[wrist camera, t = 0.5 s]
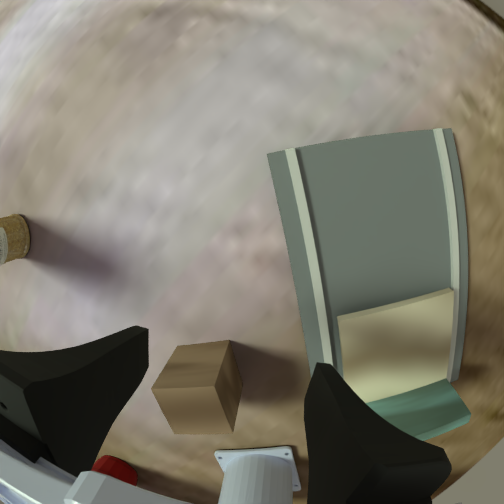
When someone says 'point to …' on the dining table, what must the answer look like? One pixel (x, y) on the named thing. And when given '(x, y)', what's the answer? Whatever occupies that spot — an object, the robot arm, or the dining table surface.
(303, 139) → the dining table surface
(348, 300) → the track board
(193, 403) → the walnut block
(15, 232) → the sprinkles bottle
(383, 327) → the sliding tray
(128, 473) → the plastic cup
